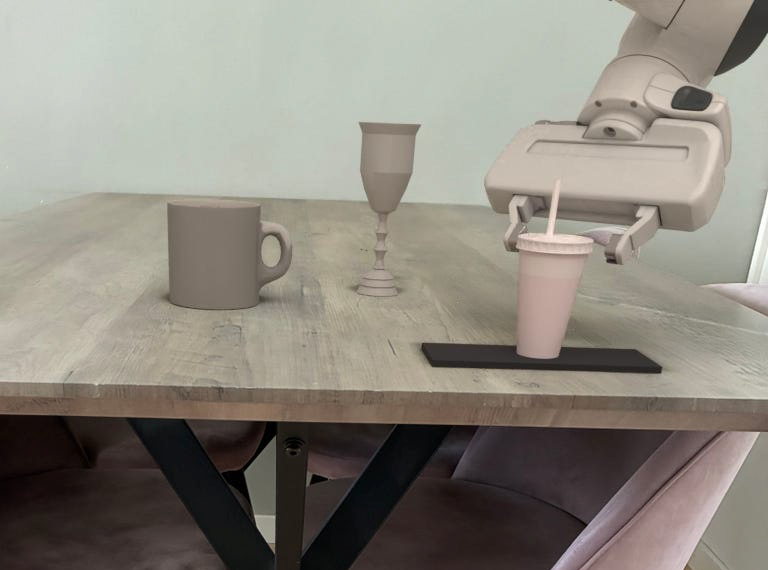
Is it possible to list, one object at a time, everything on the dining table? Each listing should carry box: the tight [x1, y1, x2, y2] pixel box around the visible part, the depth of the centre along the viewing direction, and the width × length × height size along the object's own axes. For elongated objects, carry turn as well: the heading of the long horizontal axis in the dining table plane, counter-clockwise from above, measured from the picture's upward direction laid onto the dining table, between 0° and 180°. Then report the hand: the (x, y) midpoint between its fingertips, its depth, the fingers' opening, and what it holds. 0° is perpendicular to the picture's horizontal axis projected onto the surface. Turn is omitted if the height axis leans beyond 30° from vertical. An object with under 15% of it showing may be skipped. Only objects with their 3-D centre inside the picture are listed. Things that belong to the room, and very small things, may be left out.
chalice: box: [355, 121, 422, 297], centre depth 111 cm, size 7×7×18 cm
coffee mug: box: [166, 198, 293, 311], centre depth 104 cm, size 13×10×10 cm
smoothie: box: [516, 180, 595, 359], centre depth 82 cm, size 6×6×14 cm
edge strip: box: [420, 342, 663, 375], centre depth 85 cm, size 20×7×1 cm, turn 91°
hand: (561, 253), depth 81 cm, fingers open, 8 cm apart
